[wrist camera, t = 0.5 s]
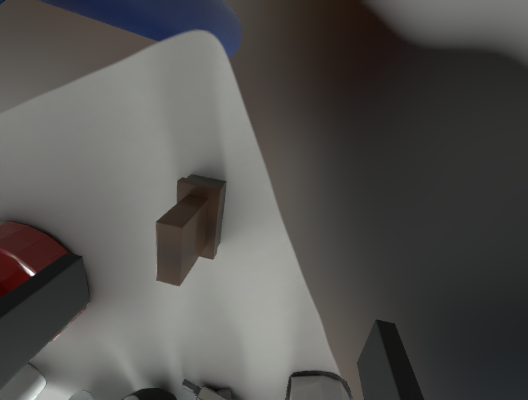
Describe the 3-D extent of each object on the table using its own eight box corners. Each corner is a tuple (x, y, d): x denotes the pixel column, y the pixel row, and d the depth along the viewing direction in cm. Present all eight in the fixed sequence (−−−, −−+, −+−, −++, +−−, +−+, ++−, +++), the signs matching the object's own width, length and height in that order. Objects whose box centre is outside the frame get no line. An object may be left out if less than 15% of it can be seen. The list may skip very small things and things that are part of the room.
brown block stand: (189, 171, 28) (141, 205, 20) (228, 180, 28) (196, 217, 20) (186, 237, 31) (144, 288, 23) (221, 245, 31) (191, 300, 23)
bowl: (-34, 207, 35) (-85, 225, 30) (84, 235, 34) (50, 257, 29) (-2, 302, 42) (-40, 328, 37) (97, 328, 41) (71, 358, 36)
